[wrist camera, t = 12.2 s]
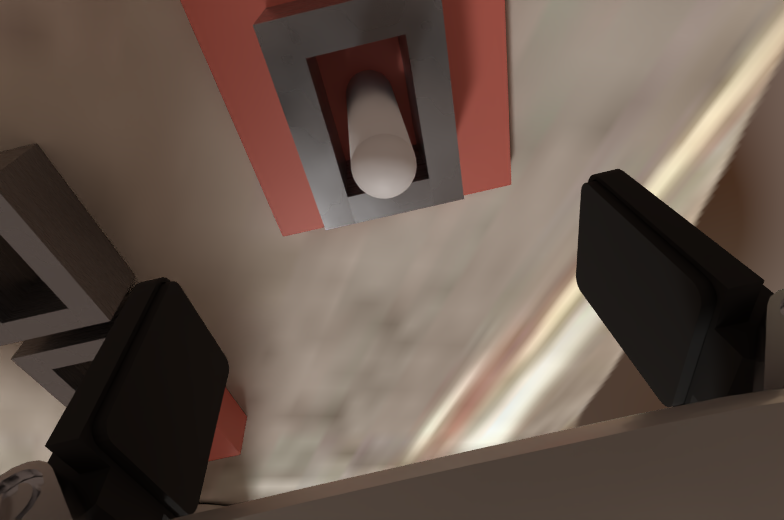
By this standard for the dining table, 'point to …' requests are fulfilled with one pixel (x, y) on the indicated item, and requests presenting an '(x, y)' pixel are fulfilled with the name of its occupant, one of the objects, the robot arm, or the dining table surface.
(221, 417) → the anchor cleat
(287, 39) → the end link
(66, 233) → the link
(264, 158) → the keeper
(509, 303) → the dining table surface
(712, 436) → the robot arm
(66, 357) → the link
